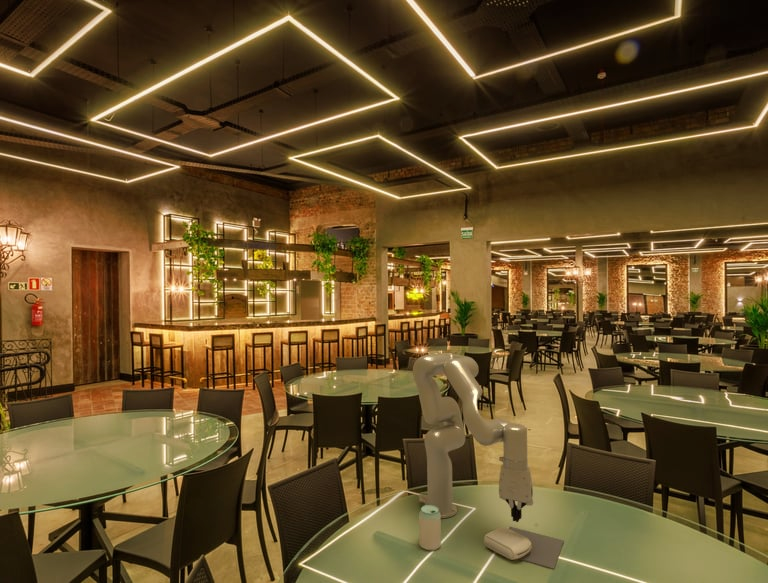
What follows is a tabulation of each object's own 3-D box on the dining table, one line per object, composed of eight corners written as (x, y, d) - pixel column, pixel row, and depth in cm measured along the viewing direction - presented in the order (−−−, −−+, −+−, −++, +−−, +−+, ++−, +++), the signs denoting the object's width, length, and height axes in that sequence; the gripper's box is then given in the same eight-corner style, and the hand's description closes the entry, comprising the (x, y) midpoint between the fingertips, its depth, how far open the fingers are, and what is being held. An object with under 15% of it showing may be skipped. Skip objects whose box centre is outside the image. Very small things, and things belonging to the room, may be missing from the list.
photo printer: (503, 524, 148) (535, 539, 138) (503, 536, 148) (535, 553, 138) (483, 533, 142) (515, 550, 132) (483, 547, 141) (515, 565, 131)
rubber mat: (494, 552, 139) (494, 551, 139) (509, 527, 154) (509, 526, 154) (554, 569, 130) (554, 568, 130) (563, 541, 145) (563, 540, 145)
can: (442, 542, 145) (442, 505, 146) (438, 553, 139) (438, 515, 139) (422, 538, 148) (422, 502, 148) (417, 549, 141) (416, 512, 141)
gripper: (489, 462, 143) (490, 519, 142) (536, 471, 135) (537, 531, 134) (496, 455, 149) (497, 509, 149) (541, 463, 141) (542, 520, 141)
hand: (516, 519), depth 142 cm, fingers closed
